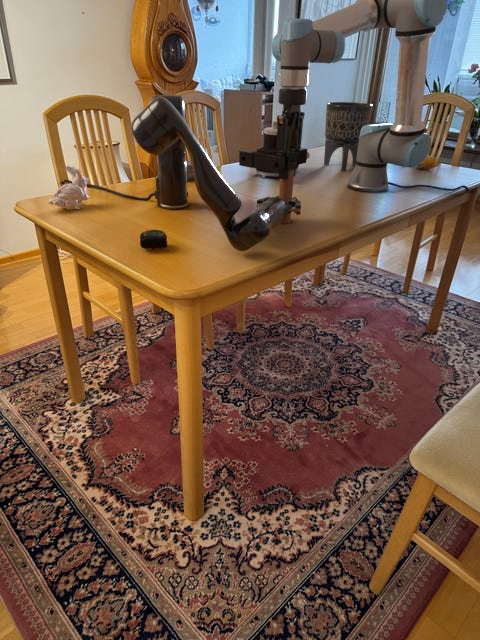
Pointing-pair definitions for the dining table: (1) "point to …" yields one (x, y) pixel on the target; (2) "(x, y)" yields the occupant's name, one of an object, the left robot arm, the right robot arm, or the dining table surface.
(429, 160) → the toy
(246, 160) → the mechanical component
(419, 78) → the right robot arm
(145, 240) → the tape measure
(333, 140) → the planter
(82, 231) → the dining table surface
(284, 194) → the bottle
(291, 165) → the lid
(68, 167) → the figurine
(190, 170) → the rock
